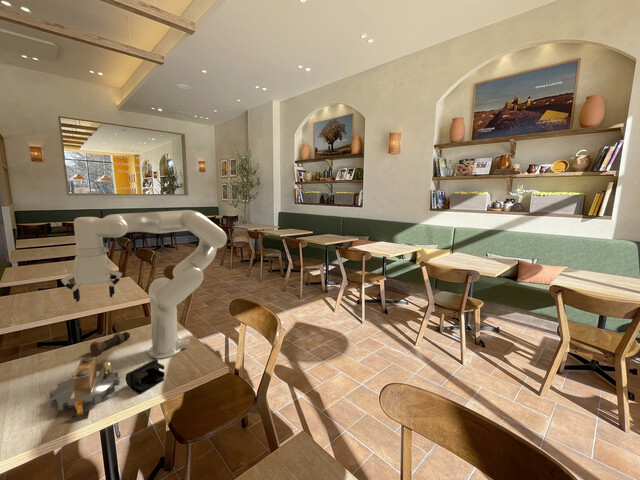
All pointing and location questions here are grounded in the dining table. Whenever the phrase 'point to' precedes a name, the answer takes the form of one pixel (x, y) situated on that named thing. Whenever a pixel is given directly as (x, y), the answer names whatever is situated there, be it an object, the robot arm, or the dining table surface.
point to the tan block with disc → (85, 376)
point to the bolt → (108, 343)
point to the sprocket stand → (80, 413)
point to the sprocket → (101, 387)
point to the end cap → (145, 377)
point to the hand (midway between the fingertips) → (95, 298)
